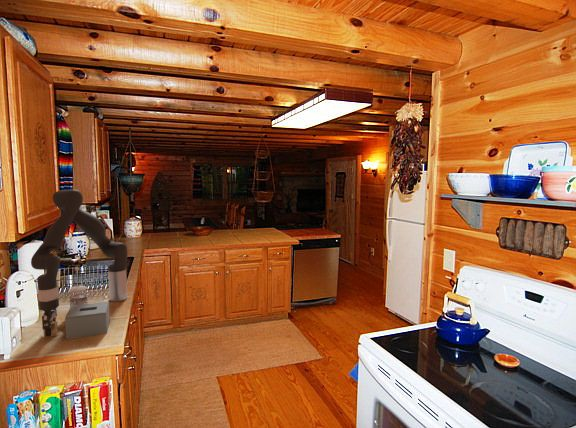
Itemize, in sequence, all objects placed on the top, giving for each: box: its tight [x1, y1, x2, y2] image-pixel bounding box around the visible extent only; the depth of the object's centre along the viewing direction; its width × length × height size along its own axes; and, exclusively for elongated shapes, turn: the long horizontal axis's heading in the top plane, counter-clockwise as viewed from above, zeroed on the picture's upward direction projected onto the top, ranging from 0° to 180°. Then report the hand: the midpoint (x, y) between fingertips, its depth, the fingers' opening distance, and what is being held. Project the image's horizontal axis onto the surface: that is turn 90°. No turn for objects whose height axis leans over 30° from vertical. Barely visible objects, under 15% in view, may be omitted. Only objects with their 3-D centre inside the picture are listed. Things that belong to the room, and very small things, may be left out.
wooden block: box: [42, 320, 59, 338], centre depth 156 cm, size 2×5×6 cm, turn 112°
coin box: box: [64, 300, 111, 340], centre depth 162 cm, size 14×16×10 cm
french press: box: [68, 267, 89, 308], centre depth 176 cm, size 10×12×25 cm
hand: (50, 332), depth 156 cm, fingers open, 8 cm apart
